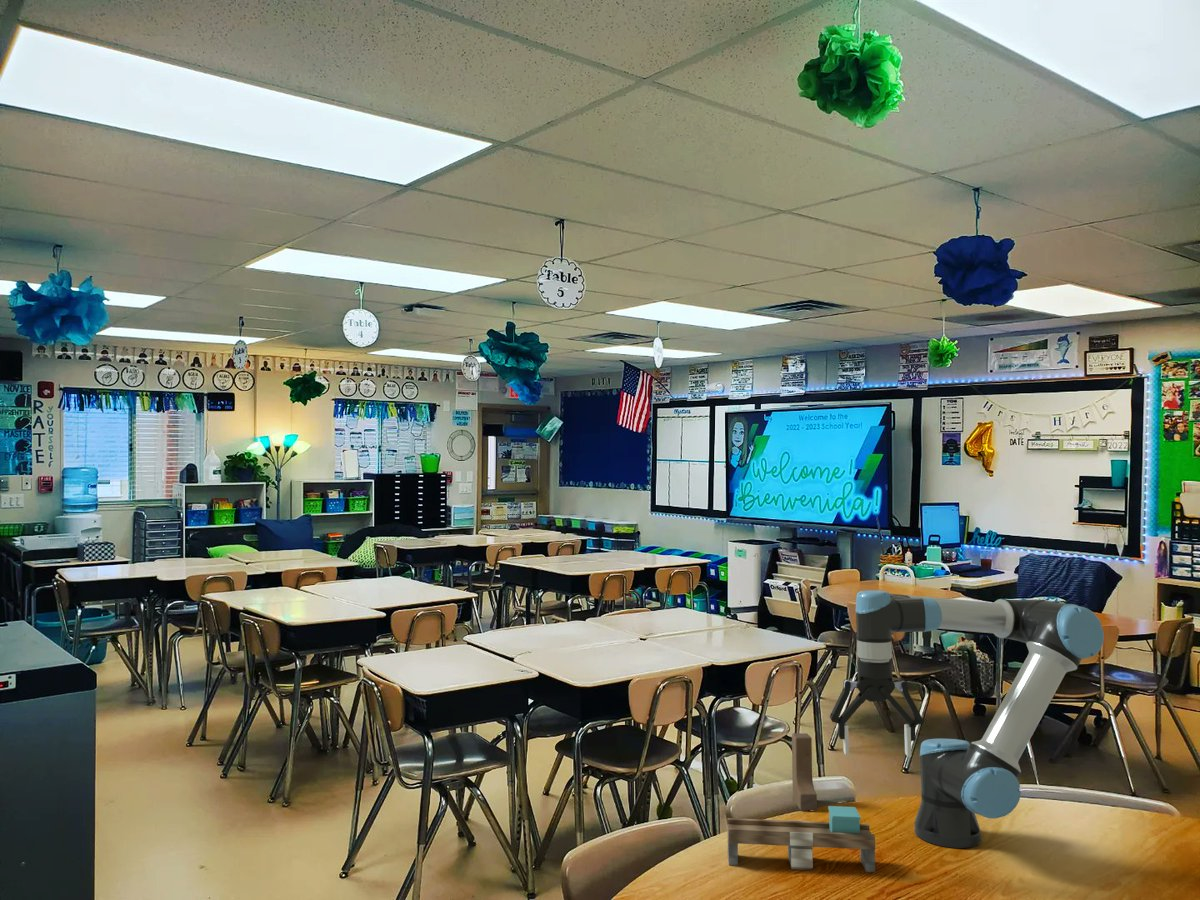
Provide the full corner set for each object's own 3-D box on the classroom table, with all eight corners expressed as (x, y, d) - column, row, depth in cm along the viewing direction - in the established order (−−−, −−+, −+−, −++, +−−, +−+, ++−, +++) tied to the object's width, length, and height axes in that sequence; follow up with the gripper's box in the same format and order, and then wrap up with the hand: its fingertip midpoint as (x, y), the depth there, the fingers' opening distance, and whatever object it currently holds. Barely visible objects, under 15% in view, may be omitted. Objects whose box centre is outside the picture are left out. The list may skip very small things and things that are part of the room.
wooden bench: (868, 859, 193) (868, 823, 194) (875, 873, 186) (875, 836, 187) (727, 853, 197) (727, 817, 197) (729, 866, 190) (728, 829, 190)
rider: (855, 827, 194) (855, 807, 194) (860, 838, 187) (860, 817, 188) (828, 826, 194) (828, 806, 195) (833, 837, 188) (832, 816, 188)
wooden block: (817, 811, 224) (816, 742, 225) (800, 811, 224) (799, 742, 225) (808, 799, 233) (807, 733, 234) (792, 799, 233) (791, 733, 234)
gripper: (926, 657, 195) (929, 751, 194) (816, 655, 198) (818, 748, 197) (935, 663, 188) (939, 760, 186) (820, 661, 191) (823, 757, 189)
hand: (877, 754), depth 191 cm, fingers open, 13 cm apart
